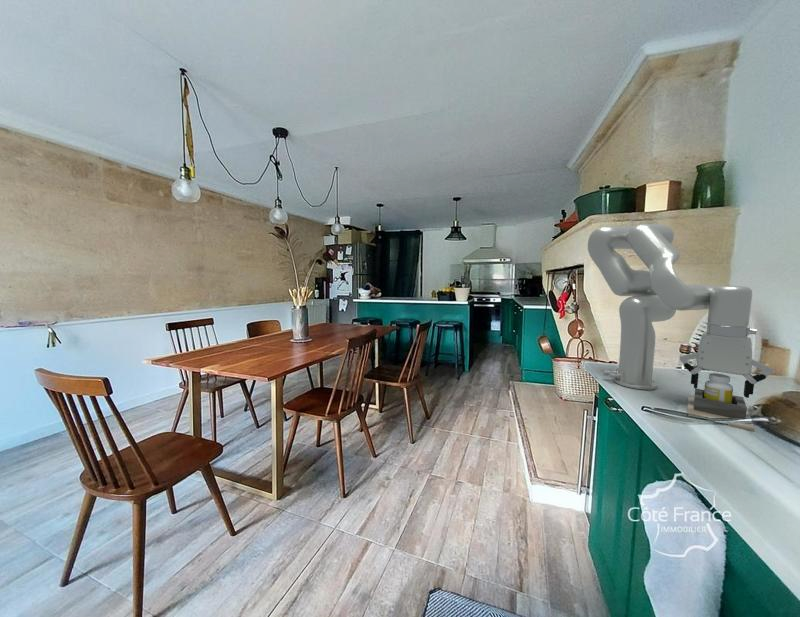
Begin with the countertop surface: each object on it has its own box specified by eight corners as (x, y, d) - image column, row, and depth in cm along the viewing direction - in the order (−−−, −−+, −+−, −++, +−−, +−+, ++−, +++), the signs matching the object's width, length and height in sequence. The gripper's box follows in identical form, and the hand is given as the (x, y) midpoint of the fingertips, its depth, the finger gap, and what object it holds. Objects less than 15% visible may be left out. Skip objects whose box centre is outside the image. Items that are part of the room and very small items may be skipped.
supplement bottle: (726, 407, 84) (730, 374, 83) (733, 415, 79) (737, 380, 78) (700, 403, 87) (703, 371, 86) (705, 410, 83) (709, 376, 81)
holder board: (754, 431, 73) (756, 414, 73) (686, 415, 82) (688, 400, 81) (746, 410, 84) (748, 394, 84) (688, 398, 93) (689, 384, 92)
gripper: (774, 333, 77) (766, 396, 79) (683, 325, 89) (677, 380, 91) (780, 337, 72) (771, 405, 74) (682, 329, 84) (676, 387, 86)
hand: (719, 391), depth 82 cm, fingers open, 9 cm apart
